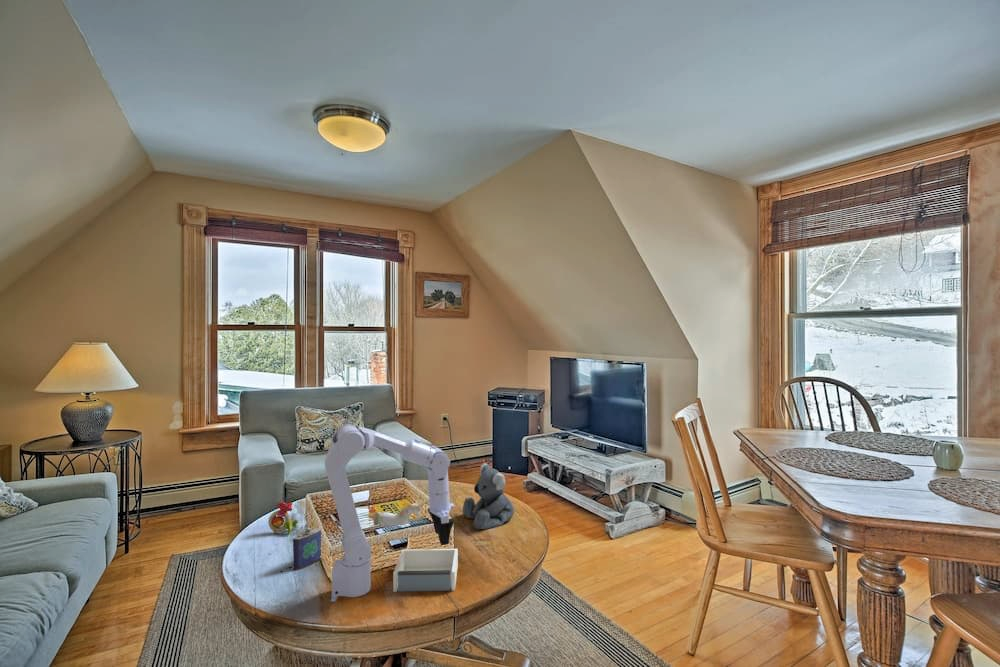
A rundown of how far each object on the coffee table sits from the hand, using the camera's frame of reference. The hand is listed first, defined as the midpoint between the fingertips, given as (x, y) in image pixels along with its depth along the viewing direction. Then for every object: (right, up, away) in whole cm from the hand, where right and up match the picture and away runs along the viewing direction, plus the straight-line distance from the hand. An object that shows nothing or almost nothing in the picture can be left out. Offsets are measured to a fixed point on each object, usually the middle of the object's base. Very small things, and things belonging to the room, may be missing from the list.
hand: (442, 538), depth 133 cm
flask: (-41, -10, +6) cm, 43 cm away
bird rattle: (-58, -11, +28) cm, 65 cm away
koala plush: (+13, -10, +39) cm, 42 cm away
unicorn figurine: (-16, -10, +22) cm, 29 cm away
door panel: (-3, -9, -11) cm, 14 cm away
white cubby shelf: (-3, -10, -5) cm, 12 cm away
